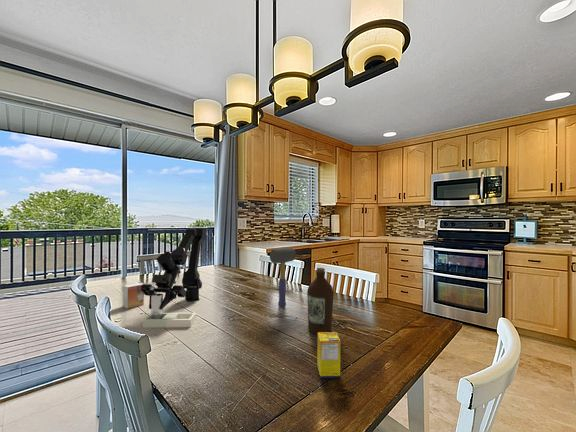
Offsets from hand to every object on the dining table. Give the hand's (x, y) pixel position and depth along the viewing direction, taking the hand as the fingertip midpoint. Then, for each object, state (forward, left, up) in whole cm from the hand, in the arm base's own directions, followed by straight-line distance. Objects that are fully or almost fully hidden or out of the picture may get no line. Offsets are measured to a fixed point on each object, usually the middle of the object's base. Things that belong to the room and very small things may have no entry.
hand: (155, 309), depth 114 cm
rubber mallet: (-57, 0, -7) cm, 58 cm away
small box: (+11, -30, -7) cm, 32 cm away
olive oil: (-61, +30, -7) cm, 69 cm away
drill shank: (-1, -1, -7) cm, 7 cm away
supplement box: (-48, +57, -7) cm, 75 cm away
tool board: (-6, +1, -7) cm, 9 cm away
